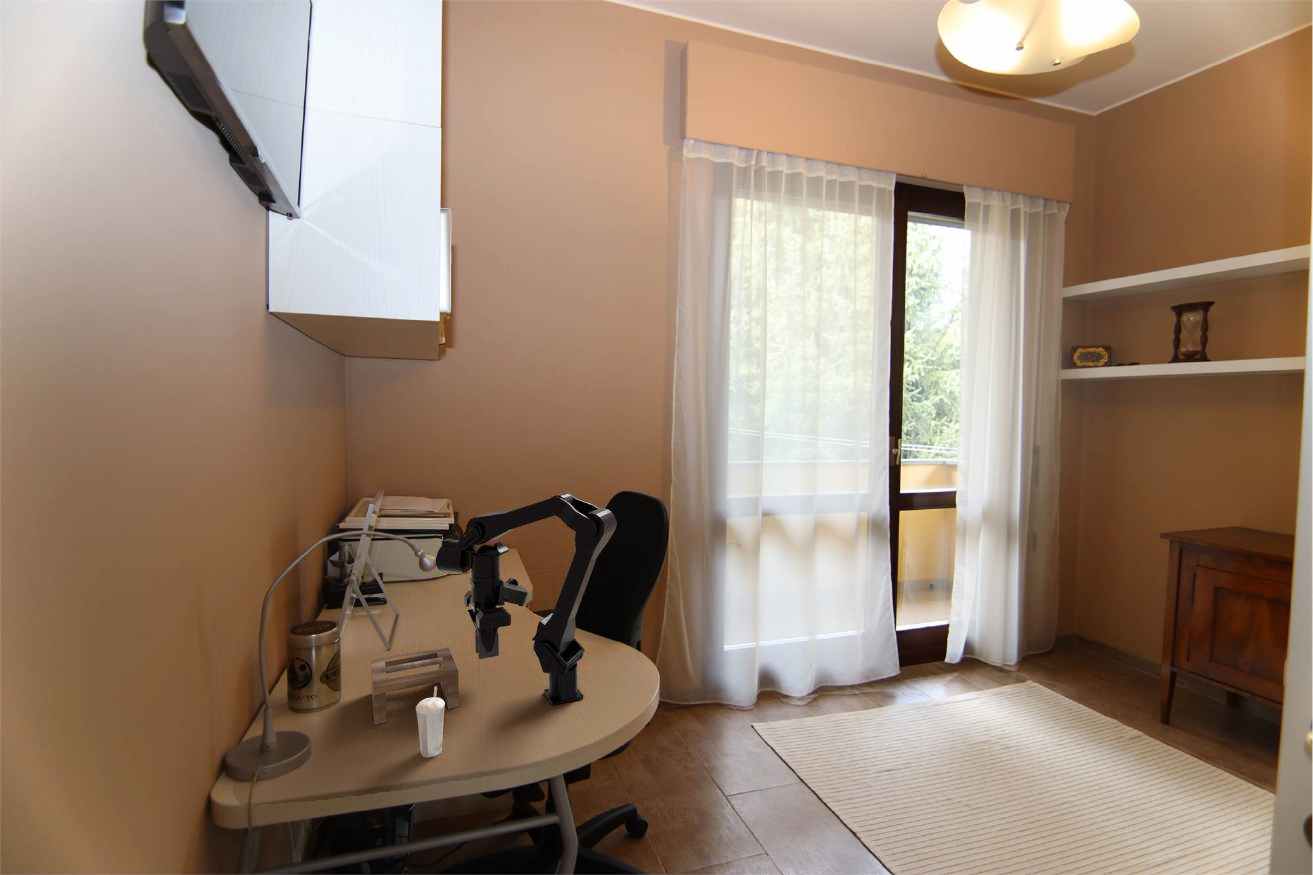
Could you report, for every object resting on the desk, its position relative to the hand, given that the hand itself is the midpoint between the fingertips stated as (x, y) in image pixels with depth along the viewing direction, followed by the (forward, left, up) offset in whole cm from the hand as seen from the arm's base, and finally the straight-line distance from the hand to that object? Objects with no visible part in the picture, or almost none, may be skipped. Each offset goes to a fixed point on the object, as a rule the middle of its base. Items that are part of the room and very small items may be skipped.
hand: (487, 648), depth 128 cm
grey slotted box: (0, 0, -1) cm, 1 cm away
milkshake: (-21, +13, -8) cm, 26 cm away
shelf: (0, +14, -8) cm, 16 cm away
